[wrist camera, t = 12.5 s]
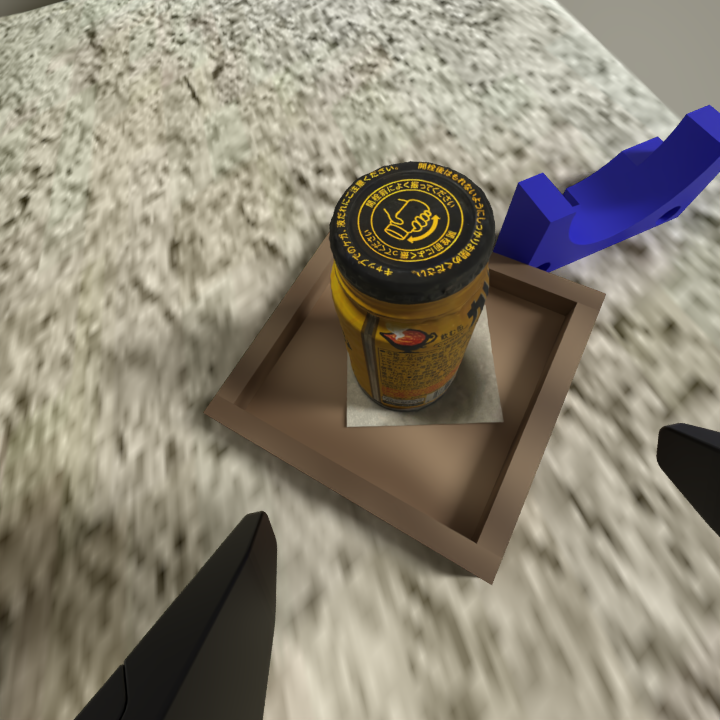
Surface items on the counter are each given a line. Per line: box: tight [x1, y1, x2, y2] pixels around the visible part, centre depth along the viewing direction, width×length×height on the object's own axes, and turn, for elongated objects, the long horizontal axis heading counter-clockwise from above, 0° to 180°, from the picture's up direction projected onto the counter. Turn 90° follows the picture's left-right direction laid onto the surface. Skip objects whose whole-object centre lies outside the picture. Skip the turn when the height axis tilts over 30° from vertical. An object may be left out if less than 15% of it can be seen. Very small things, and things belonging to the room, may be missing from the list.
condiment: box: [329, 161, 504, 427], centre depth 17 cm, size 7×8×12 cm
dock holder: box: [203, 232, 606, 585], centre depth 23 cm, size 16×16×2 cm
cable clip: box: [493, 105, 720, 272], centre depth 24 cm, size 12×4×6 cm, turn 113°
